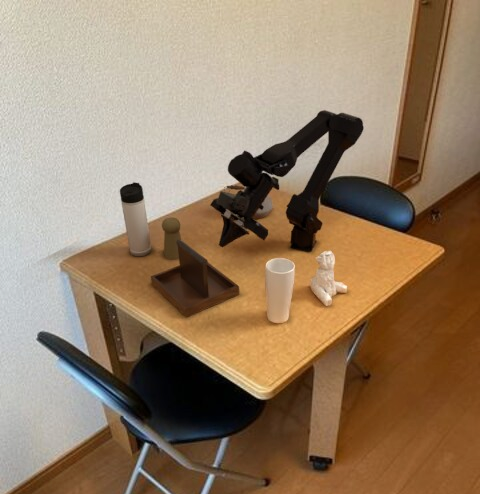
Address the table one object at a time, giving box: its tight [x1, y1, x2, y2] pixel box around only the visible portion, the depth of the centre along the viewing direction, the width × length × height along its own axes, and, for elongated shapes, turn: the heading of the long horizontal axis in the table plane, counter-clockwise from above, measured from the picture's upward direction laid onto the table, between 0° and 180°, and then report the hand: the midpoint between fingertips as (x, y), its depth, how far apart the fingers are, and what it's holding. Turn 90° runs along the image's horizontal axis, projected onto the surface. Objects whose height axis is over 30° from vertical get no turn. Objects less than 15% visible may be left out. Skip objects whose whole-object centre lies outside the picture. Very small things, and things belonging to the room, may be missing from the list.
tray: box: [150, 239, 240, 318], centre depth 127 cm, size 16×18×12 cm
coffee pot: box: [223, 184, 274, 220], centre depth 157 cm, size 21×12×15 cm, turn 144°
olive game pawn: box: [161, 217, 182, 260], centre depth 142 cm, size 6×6×11 cm
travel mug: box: [119, 181, 152, 257], centre depth 141 cm, size 6×7×20 cm
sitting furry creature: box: [309, 249, 348, 307], centre depth 125 cm, size 10×9×12 cm
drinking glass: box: [264, 257, 296, 324], centre depth 116 cm, size 7×7×15 cm
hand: (220, 246), depth 129 cm, fingers closed
